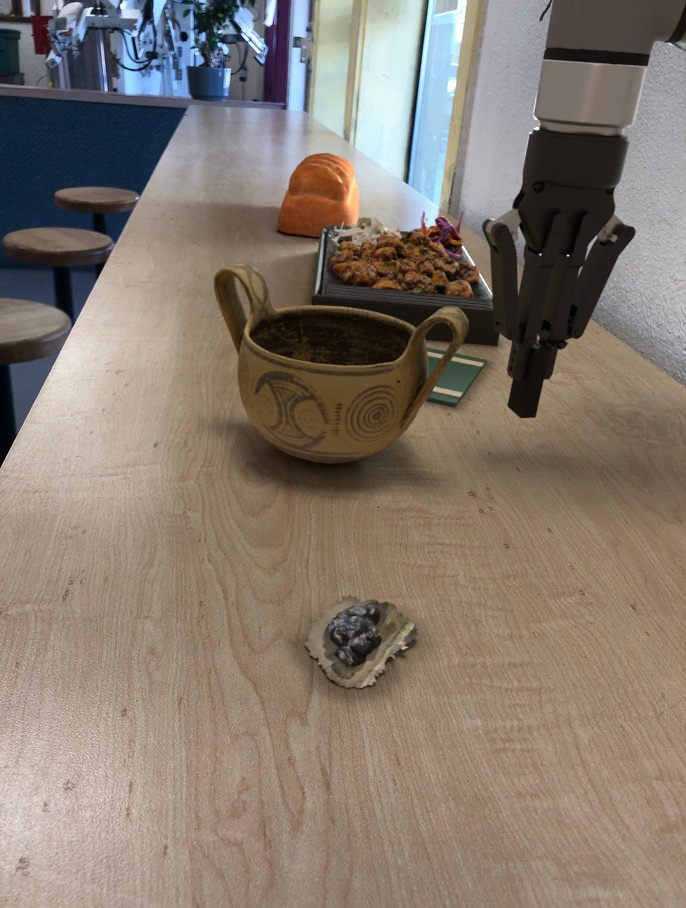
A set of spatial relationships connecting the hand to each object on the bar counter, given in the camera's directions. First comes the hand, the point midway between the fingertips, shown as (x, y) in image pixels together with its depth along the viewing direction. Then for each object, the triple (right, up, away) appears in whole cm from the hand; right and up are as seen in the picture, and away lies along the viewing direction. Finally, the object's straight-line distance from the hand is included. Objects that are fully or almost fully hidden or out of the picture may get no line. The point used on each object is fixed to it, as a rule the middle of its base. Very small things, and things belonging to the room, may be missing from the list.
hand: (521, 411), depth 72 cm
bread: (-17, +50, +93) cm, 107 cm away
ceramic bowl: (-18, -3, +1) cm, 18 cm away
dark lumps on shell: (-16, -17, -23) cm, 33 cm away
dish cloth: (-10, +8, +21) cm, 24 cm away
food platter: (-6, +24, +50) cm, 56 cm away
